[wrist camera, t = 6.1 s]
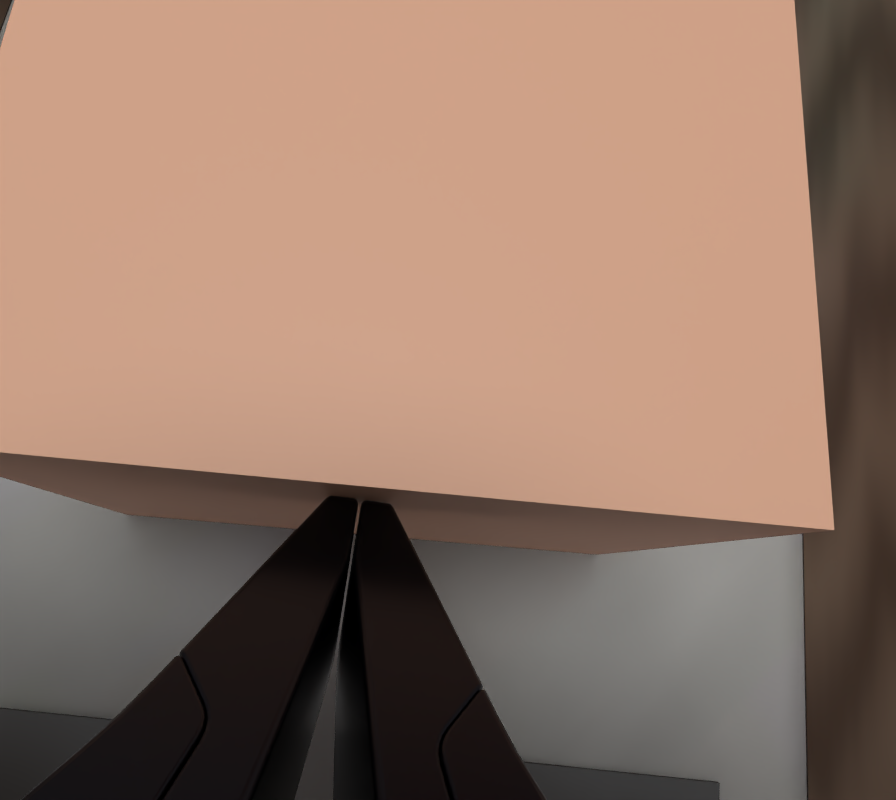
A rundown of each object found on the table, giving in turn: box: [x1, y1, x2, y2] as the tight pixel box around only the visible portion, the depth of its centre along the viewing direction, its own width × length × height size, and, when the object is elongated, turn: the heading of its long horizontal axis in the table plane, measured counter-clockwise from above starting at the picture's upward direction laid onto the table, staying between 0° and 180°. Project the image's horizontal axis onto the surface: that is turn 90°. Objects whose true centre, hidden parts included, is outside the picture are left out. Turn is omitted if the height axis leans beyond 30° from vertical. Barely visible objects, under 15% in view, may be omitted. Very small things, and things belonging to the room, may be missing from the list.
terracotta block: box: [0, 0, 834, 555], centre depth 14 cm, size 14×11×8 cm
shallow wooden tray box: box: [0, 0, 896, 800], centre depth 16 cm, size 36×26×4 cm
